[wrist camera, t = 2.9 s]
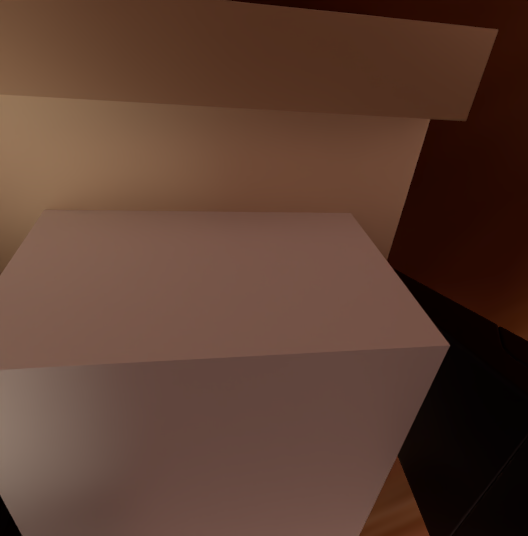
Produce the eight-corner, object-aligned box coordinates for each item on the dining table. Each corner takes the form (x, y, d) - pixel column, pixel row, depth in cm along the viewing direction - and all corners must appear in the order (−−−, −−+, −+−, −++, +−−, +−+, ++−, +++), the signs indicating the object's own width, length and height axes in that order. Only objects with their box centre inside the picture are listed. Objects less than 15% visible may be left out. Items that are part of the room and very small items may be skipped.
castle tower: (299, 373, 13) (334, 490, 10) (94, 387, 12) (60, 523, 9) (371, 15, 8) (498, 28, 4) (2, -24, 6) (-172, -42, 3)
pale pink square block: (309, 397, 9) (353, 547, 7) (92, 413, 8) (52, 591, 6) (350, 212, 6) (450, 345, 4) (44, 209, 6) (-67, 373, 3)
